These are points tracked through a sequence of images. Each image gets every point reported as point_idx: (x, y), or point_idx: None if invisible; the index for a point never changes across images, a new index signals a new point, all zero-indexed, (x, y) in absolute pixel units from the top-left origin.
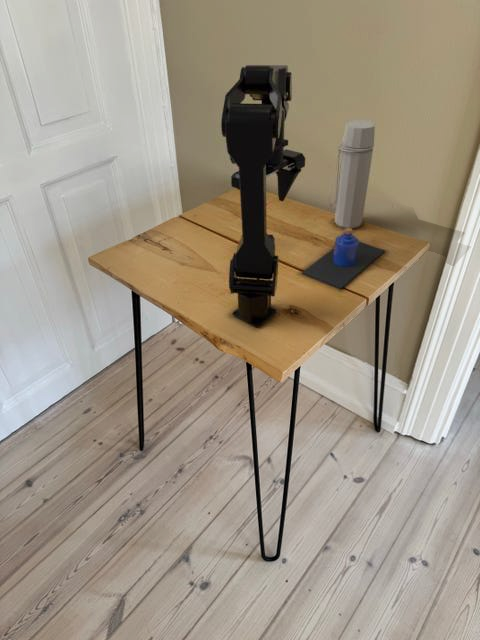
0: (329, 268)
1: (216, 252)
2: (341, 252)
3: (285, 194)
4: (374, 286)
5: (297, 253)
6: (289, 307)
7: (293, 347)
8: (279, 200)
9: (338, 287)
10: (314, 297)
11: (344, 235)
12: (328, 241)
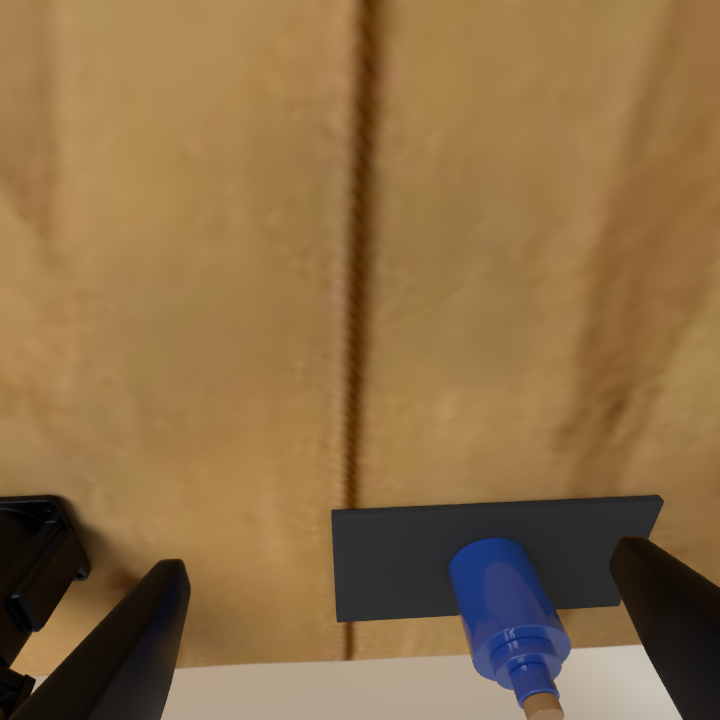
0: (413, 560)
1: (174, 63)
2: (463, 628)
3: (662, 681)
4: (411, 651)
5: (456, 421)
6: None
7: (36, 656)
8: (619, 538)
9: (336, 614)
10: (248, 593)
11: (516, 688)
12: (614, 454)
